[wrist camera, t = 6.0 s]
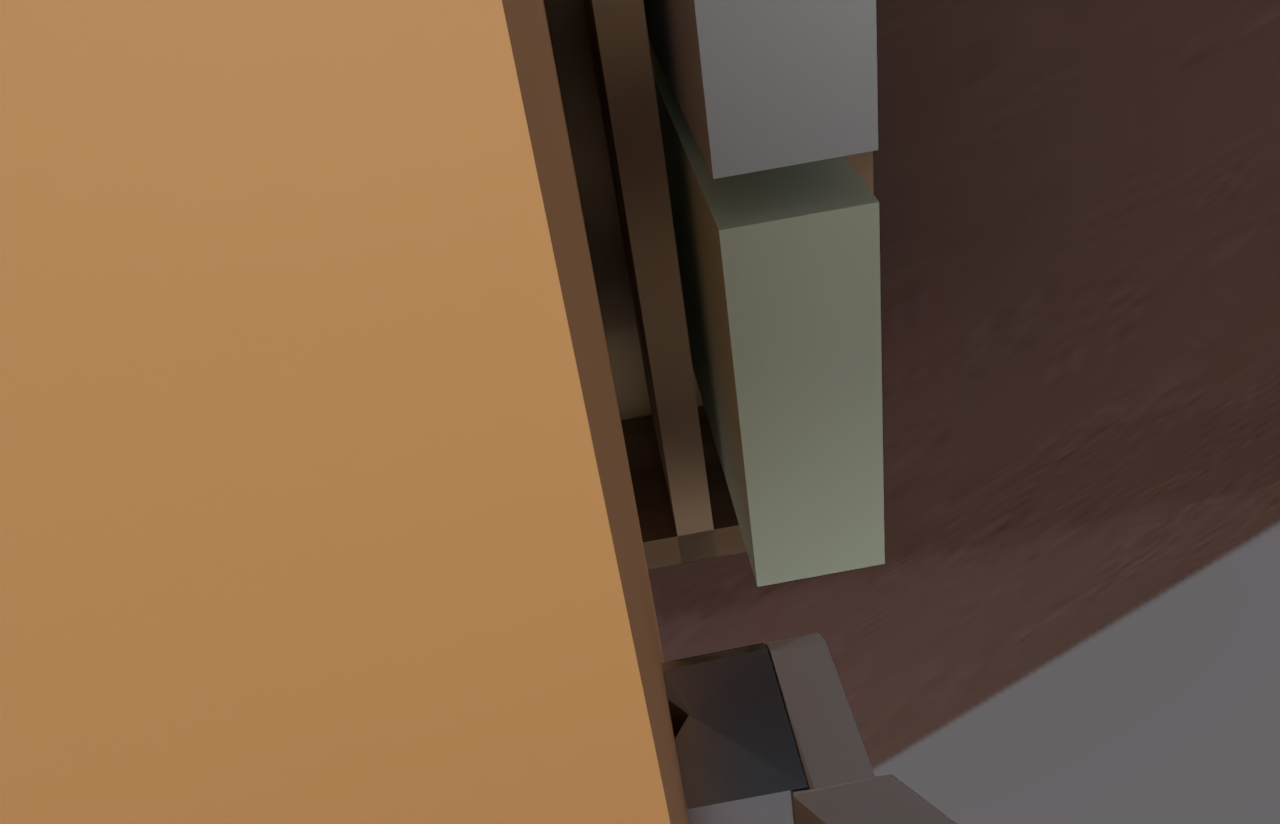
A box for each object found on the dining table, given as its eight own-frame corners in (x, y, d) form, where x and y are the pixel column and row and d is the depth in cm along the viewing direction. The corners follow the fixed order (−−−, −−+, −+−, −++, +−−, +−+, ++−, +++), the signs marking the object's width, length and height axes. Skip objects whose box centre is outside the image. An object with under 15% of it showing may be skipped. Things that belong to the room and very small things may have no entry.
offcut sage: (787, 349, 33) (884, 563, 24) (692, 366, 33) (757, 587, 24) (766, 58, 28) (879, 202, 19) (654, 78, 28) (718, 230, 19)
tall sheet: (621, 425, 28) (856, 1726, 10) (548, 438, 28) (644, 1771, 10) (491, -285, 19) (377, -618, 1) (383, -267, 19) (-1886, -240, 1)
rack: (826, 383, 35) (895, 524, 29) (518, 438, 35) (521, 592, 29) (777, -574, 22) (886, -693, 16) (281, -491, 22) (193, -577, 16)
